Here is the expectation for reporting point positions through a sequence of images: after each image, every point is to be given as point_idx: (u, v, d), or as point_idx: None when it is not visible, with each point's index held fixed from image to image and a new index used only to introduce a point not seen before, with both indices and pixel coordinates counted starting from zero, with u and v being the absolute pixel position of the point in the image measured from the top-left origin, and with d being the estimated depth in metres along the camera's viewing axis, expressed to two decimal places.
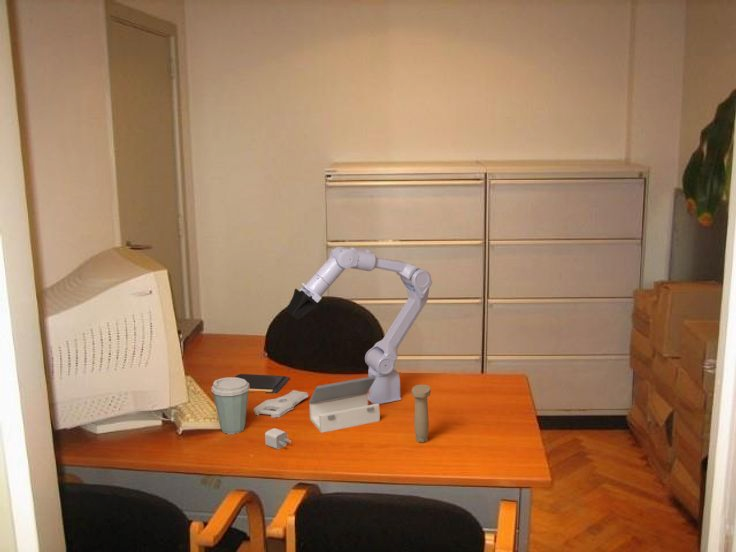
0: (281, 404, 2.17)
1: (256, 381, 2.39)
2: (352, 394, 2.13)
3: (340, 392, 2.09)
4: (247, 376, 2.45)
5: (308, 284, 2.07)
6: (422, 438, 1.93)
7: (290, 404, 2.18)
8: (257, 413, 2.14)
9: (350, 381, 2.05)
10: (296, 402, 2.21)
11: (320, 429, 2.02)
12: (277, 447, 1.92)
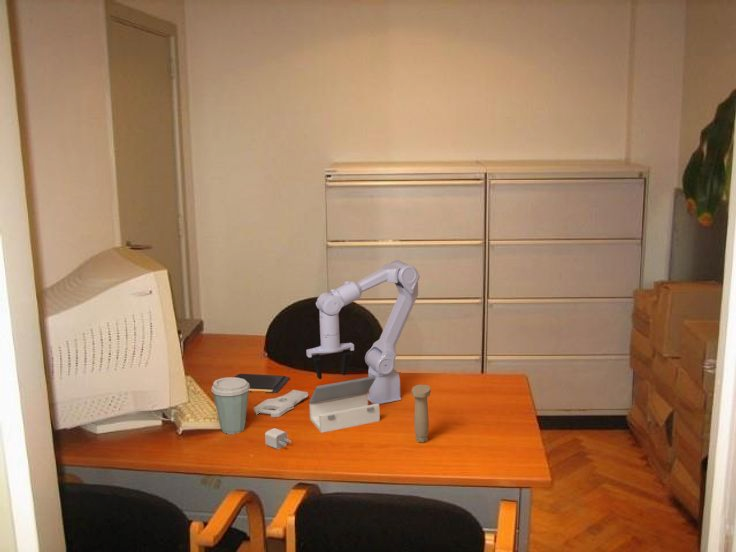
0: (281, 403, 2.18)
1: (256, 381, 2.39)
2: (352, 394, 2.13)
3: (340, 392, 2.09)
4: (247, 375, 2.45)
5: None
6: (422, 438, 1.93)
7: (290, 403, 2.18)
8: (257, 412, 2.15)
9: (350, 381, 2.05)
10: (296, 401, 2.21)
11: (320, 429, 2.02)
12: (277, 447, 1.92)
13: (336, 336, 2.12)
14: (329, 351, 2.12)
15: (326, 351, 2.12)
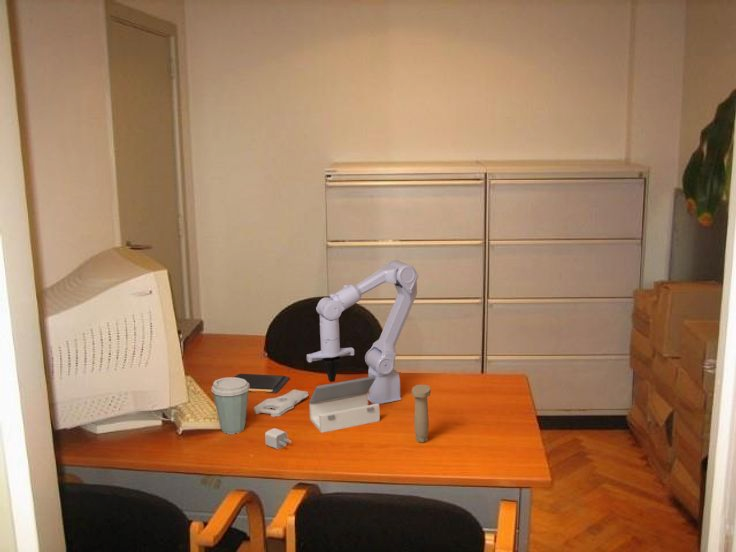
0: (281, 403, 2.18)
1: (256, 381, 2.39)
2: (352, 394, 2.13)
3: (340, 392, 2.09)
4: (247, 375, 2.45)
5: None
6: (422, 438, 1.93)
7: (290, 403, 2.19)
8: (257, 412, 2.15)
9: (350, 381, 2.05)
10: (296, 401, 2.22)
11: (320, 429, 2.02)
12: (277, 447, 1.92)
13: (336, 341, 2.12)
14: (329, 356, 2.12)
15: (326, 356, 2.12)
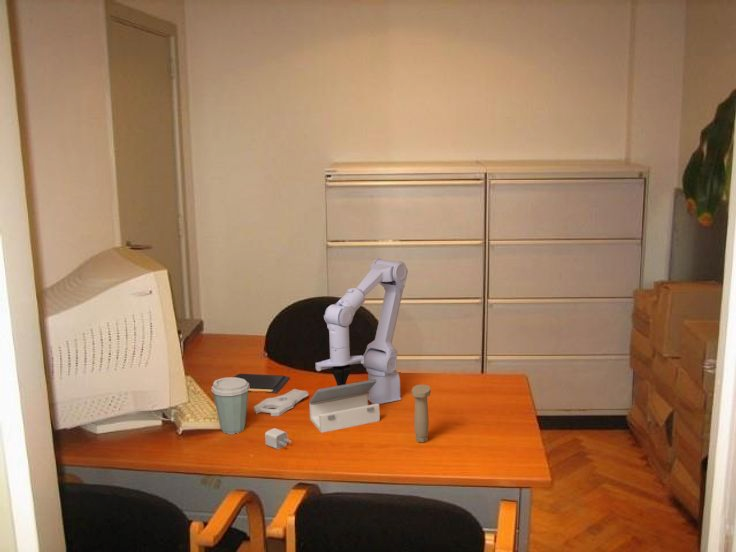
0: (281, 403, 2.19)
1: (256, 381, 2.39)
2: (352, 394, 2.13)
3: (340, 393, 2.09)
4: (246, 375, 2.45)
5: None
6: (422, 438, 1.93)
7: (290, 403, 2.19)
8: (257, 411, 2.16)
9: (351, 384, 2.05)
10: (296, 401, 2.22)
11: (320, 429, 2.02)
12: (277, 447, 1.92)
13: (346, 349, 2.05)
14: (339, 364, 2.05)
15: (336, 364, 2.05)
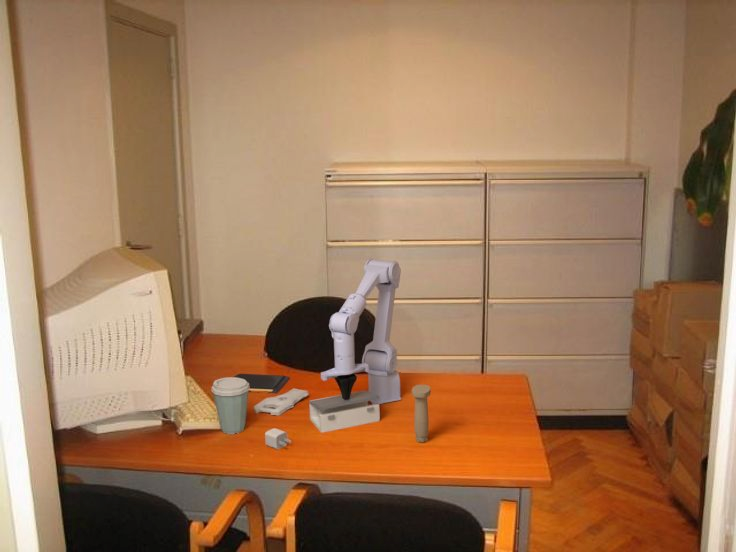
0: (281, 402, 2.19)
1: (256, 381, 2.39)
2: None
3: None
4: (246, 375, 2.45)
5: None
6: (422, 438, 1.93)
7: (290, 402, 2.19)
8: (257, 411, 2.16)
9: (354, 401, 2.04)
10: (296, 400, 2.22)
11: (320, 429, 2.02)
12: (277, 447, 1.92)
13: (352, 357, 2.02)
14: (345, 373, 2.02)
15: (342, 373, 2.01)
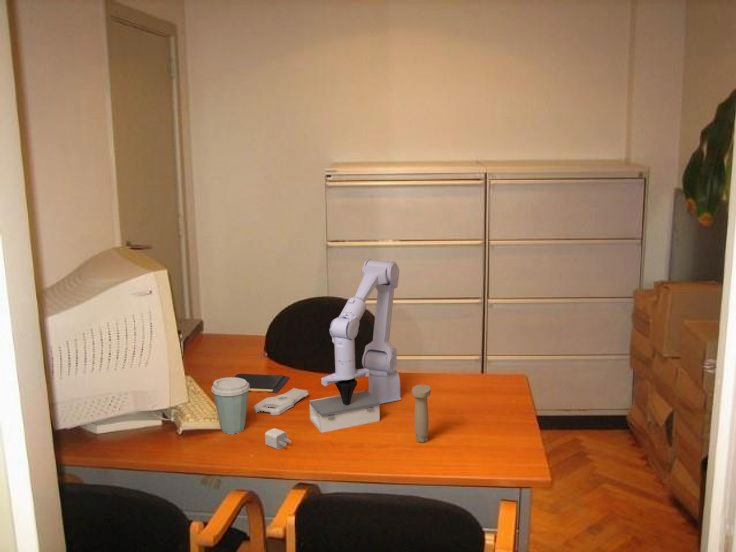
0: (281, 402, 2.19)
1: (256, 381, 2.39)
2: None
3: None
4: (246, 375, 2.45)
5: None
6: (422, 438, 1.93)
7: (290, 402, 2.20)
8: (257, 410, 2.16)
9: (355, 408, 2.04)
10: (296, 400, 2.23)
11: (320, 429, 2.02)
12: (277, 447, 1.92)
13: (352, 362, 2.02)
14: (346, 378, 2.02)
15: (342, 378, 2.01)
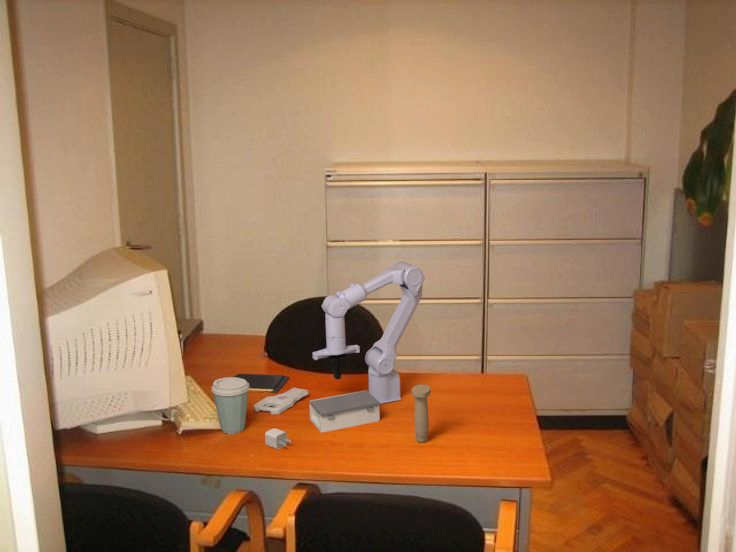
0: (281, 401, 2.20)
1: (256, 381, 2.40)
2: None
3: None
4: (246, 375, 2.45)
5: None
6: (422, 438, 1.93)
7: (290, 401, 2.20)
8: (257, 410, 2.17)
9: (355, 408, 2.04)
10: (296, 399, 2.23)
11: (320, 429, 2.02)
12: (277, 447, 1.92)
13: (342, 338, 2.13)
14: (335, 353, 2.13)
15: (332, 353, 2.13)
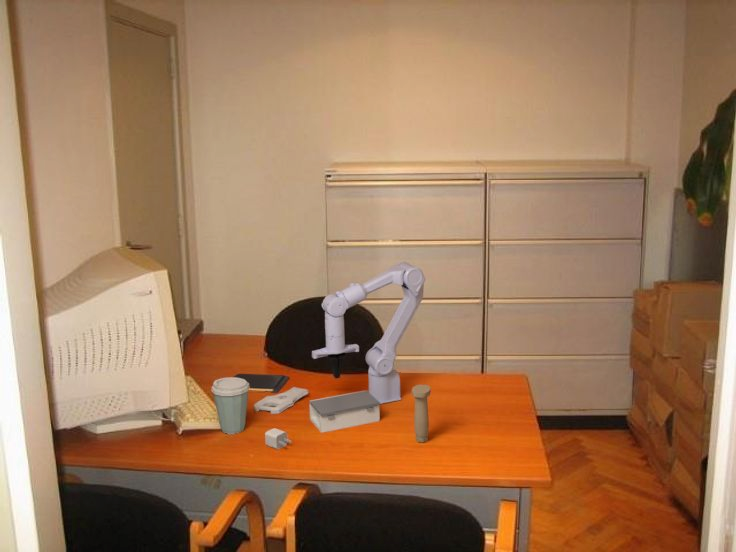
0: (281, 400, 2.20)
1: (256, 381, 2.40)
2: None
3: None
4: (246, 375, 2.45)
5: None
6: (422, 438, 1.93)
7: (290, 401, 2.21)
8: (257, 409, 2.17)
9: (355, 408, 2.04)
10: (296, 399, 2.24)
11: (320, 429, 2.02)
12: (277, 447, 1.92)
13: (341, 337, 2.14)
14: (334, 352, 2.13)
15: (331, 352, 2.13)
